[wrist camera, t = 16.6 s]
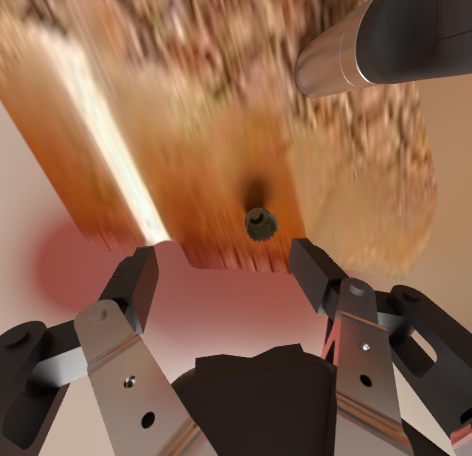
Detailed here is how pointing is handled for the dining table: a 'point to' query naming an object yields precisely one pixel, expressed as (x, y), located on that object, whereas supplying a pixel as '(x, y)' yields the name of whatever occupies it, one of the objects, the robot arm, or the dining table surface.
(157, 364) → the robot arm
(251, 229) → the cup
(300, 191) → the dining table surface
